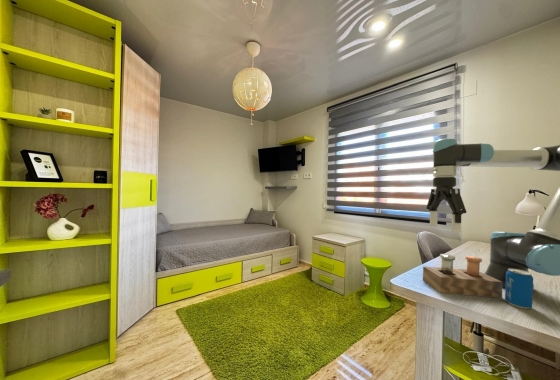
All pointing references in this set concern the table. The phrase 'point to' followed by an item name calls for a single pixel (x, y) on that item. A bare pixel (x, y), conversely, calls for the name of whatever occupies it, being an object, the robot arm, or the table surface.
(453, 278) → the socket block
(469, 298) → the table surface
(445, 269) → the grey plug
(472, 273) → the terracotta plug
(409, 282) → the table surface
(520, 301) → the beverage can
